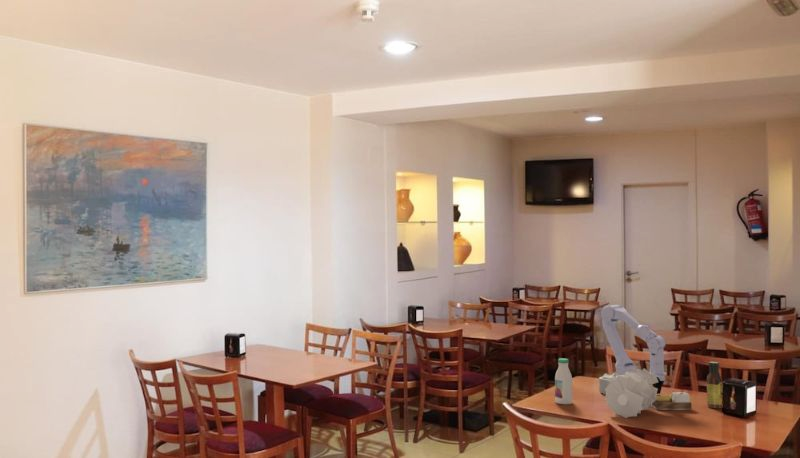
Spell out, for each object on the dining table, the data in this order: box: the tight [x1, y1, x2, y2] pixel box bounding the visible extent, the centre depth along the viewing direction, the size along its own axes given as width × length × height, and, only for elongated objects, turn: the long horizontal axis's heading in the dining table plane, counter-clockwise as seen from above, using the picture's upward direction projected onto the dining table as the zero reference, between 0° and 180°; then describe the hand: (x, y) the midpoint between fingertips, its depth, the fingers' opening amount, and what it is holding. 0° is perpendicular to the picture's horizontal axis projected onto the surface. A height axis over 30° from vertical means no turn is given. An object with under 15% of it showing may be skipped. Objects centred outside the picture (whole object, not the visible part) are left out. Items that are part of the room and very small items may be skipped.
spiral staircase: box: [605, 368, 659, 419], centre depth 279 cm, size 18×18×25 cm
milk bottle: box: [554, 357, 573, 405], centre depth 296 cm, size 8×8×20 cm
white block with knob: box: [671, 391, 691, 403], centre depth 285 cm, size 6×4×4 cm
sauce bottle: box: [706, 361, 723, 409], centre depth 286 cm, size 7×6×20 cm
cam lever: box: [656, 393, 672, 401], centre depth 286 cm, size 8×2×2 cm, turn 87°
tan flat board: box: [652, 400, 693, 411], centre depth 285 cm, size 16×6×3 cm, turn 87°
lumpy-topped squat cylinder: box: [598, 373, 617, 395], centre depth 315 cm, size 10×13×9 cm
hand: (657, 393), depth 291 cm, fingers closed
